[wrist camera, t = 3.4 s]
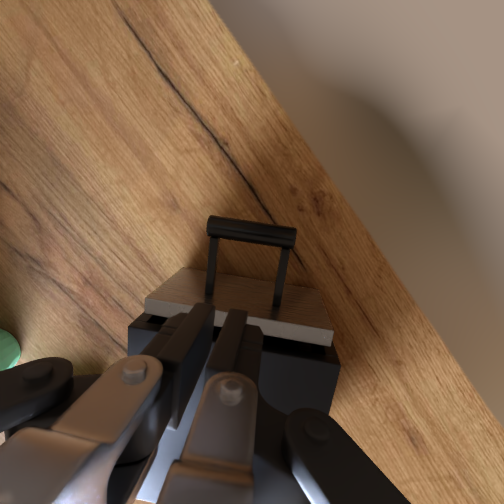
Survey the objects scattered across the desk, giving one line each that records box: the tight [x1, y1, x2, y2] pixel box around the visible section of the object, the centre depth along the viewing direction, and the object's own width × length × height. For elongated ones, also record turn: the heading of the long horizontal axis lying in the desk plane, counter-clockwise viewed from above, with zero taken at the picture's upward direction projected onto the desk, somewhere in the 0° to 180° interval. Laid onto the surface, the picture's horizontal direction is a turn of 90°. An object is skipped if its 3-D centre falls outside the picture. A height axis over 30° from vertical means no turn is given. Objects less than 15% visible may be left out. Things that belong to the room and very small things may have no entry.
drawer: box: [145, 215, 334, 353], centre depth 21 cm, size 20×12×7 cm, turn 172°
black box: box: [128, 311, 341, 503], centre depth 23 cm, size 15×14×9 cm
